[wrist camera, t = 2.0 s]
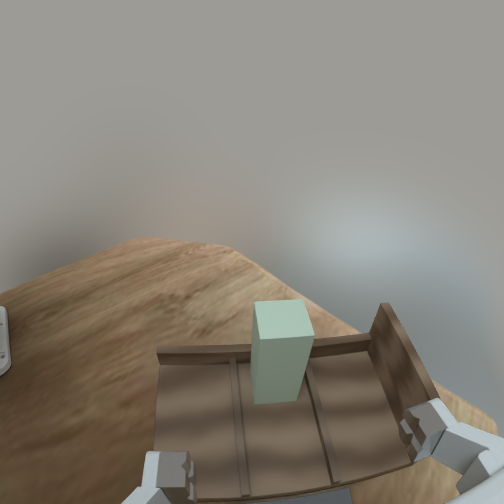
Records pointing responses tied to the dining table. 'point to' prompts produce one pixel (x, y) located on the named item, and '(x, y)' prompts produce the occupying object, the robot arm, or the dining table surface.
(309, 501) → the mat
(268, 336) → the block
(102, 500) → the dining table surface
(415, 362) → the lane shelf
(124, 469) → the dining table surface
